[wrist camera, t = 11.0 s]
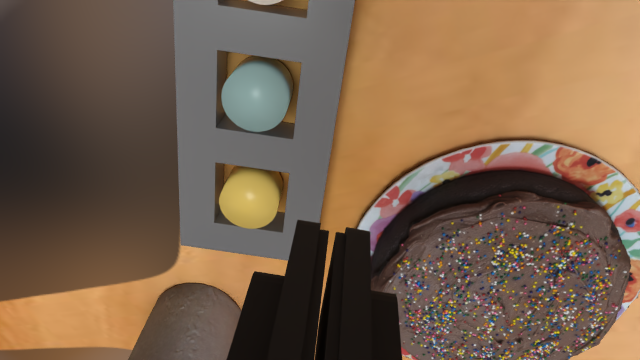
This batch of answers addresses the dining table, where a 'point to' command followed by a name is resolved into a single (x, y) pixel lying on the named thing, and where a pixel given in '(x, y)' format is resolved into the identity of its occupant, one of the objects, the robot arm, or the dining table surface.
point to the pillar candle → (188, 325)
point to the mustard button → (251, 196)
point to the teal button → (257, 93)
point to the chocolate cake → (507, 251)
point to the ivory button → (265, 2)
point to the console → (248, 146)
